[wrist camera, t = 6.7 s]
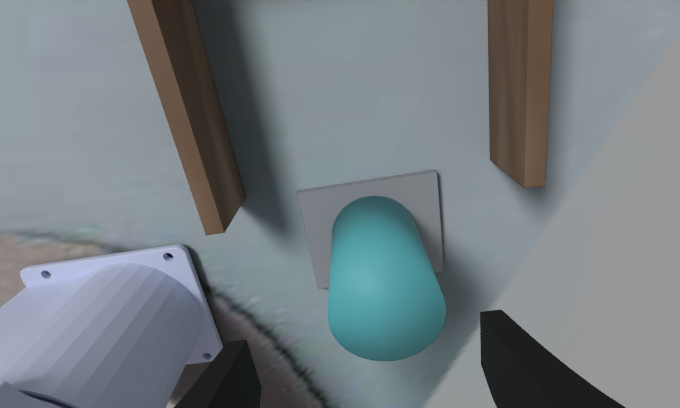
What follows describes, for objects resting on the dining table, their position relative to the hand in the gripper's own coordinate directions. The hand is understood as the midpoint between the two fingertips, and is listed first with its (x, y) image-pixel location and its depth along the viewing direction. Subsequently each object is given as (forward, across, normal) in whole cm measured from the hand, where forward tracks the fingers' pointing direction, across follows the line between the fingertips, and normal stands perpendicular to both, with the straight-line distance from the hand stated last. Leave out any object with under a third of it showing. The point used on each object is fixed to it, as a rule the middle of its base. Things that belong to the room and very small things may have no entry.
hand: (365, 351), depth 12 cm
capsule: (+9, -1, +1) cm, 9 cm away
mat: (+9, -1, +1) cm, 9 cm away
